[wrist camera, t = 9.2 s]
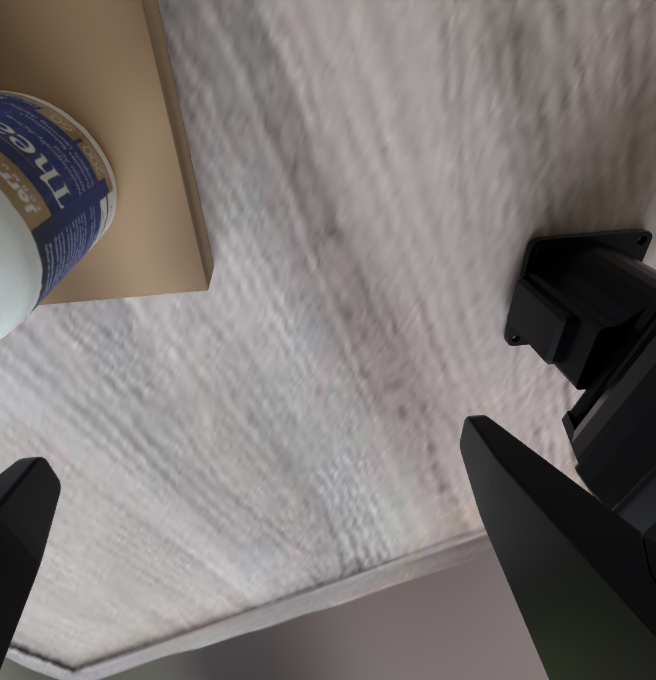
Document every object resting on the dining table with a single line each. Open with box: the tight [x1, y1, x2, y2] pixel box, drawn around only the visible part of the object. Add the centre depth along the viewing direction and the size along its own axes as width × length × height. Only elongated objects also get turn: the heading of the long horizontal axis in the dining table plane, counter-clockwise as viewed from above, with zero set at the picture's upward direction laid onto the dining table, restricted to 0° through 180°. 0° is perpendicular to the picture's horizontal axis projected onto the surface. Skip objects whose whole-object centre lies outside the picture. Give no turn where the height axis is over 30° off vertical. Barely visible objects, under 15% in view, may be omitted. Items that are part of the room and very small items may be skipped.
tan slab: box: [0, 0, 214, 305], centre depth 16 cm, size 10×10×2 cm
